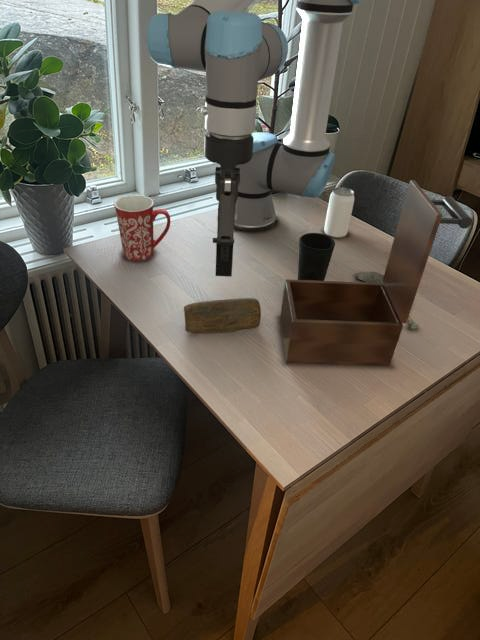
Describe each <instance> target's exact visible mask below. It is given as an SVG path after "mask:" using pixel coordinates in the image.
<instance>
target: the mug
mask: <svg viewBox="0 0 480 640" xmlns="http://www.w3.org/2000/svg"><path fill="white" fill-rule="evenodd" d="M154 203H155V202H154V199H152V198H151V197H149V196H147V195H142V194H129V195H124V196H121V197H119V198H117V199H116V200H115V201H114V202H113V208H114V209H115V213H116V219H117V220H116V221H117V226H118V231H119V235H120V236H119V237H120V243H121V247H122V248H121V249H122V253H123V257H124V258H125V259H126V260H129V261H132V262H143V261H147V260H149V259H151V258H152V257H153V256H154V254H155V248H156V247H157V246H158V245H159V244H160V243H161V241H162V240H164V238H165V237H166V235H167V234H168V232H169V230H170V227H171V215H170V213H169V211H167V210H166V209H164V208H157V209H154V206H155V205H154ZM159 215H164V216H165V218H166V225H165V228H164V229H163V231H162V232H161V234H160V235H159V236H158V237H157V238H156V239H154V222H155V220H156V218H157V216H159Z"/></svg>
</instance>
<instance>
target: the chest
mask: <svg viewBox="0 0 480 640" xmlns="http://www.w3.org/2000/svg"><path fill="white" fill-rule="evenodd" d="M282 294H283V295H282V302H281V310H280V317H279V321H280V330H281V336H282V344H283V351H284V358H285V364H303V365H305V364H306V365H330V366H331V365H335V366H337V365H338V366H366V367H367V366H369V367H390V366H391V363H392V360H393V357H394V354H395V351H396V349H397V346H398V342H399V340H400V336H401V334H402V330H403V328H404V323H402V322H401V320H400V318H399V316H398V314H397V311H396V309H395V307H394V305H393V303H392V301H391V299H390V296H389V294H388V292H387V290H386V288H385V286H384V283H367V282H365V281H339V280H336V281H335V280H324V281H315V280H298V279H289V278H287V279H285V280H284V287H283V293H282Z"/></svg>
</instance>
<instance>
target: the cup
mask: <svg viewBox="0 0 480 640" xmlns="http://www.w3.org/2000/svg"><path fill="white" fill-rule="evenodd" d="M335 247H336V241H335V240H334V238H333V237H331V236H328V235H327V234H325V233H324V234H323V233H319V232H308V233H304V234H303V235H301V236H300V237H299V240H298V261H297V280H315V281H326V280H325V279H326V276H327V273H328V270H329V266H330V263H331V260H332V256H333V253H334V250H335Z"/></svg>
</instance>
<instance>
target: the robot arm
mask: <svg viewBox="0 0 480 640" xmlns="http://www.w3.org/2000/svg"><path fill="white" fill-rule="evenodd" d="M264 1H265V0H192V1H191V2H190V3H188V4H187V5H186V6H185V7H183V9H182V10H181V11H180V12H178V13H177V14H174V13H171V12H166V13H156V14H154V15H153V16H152V17H151V18H150V20H149V22H148V25H147V29H146V44H147V51H148V54H149V56H150V59H152V61H153V62H154V63H155V64H157V65H160V66H164V67H169V68H172V69H173V70H175V69H180V70H187V71H195V72H204V73H205V97H204V98H205V99H204V100H205V107H202V108H200V114H201V115H203V116H204V115H205V118H204V128H205V130H206V132H205V134H204V148H203V149H204V150H203V151H204V157H205V158H206V160H207V161H209V162H210V163H213V164H218V165H220V166H215V172H214V173H215V174H214V184H215V185H216V186H215V199H216V201H217V202H218V205H217V229H216V230H217V231H216V237H213V238H212V244H214V243H215V244H216V246H215V247H216V249H215V277H227V278H228V277H230V278H231V277H233V274H232V273H233V258H234V244H235V238H234V237H235V230H238V231H243V232H259V231H265V230H267V229H270V228H271V227H273V226H274V225H275V223H276V218H277V216H276V215H277V214H276V210H275V205H274V201H273V196H272V193H273V192H272V191H277V192H281V193H285V194H290V195H294V196H299V197H301V198H304V197H306V198H311V199H317V198H319V197H320V196H321V195H322V194H323V193H324V191H325V189H326V187H327V185H328V181H329V180H330V177H331V174H332V172H333V168H334V165H335V160H336V154H335V153H333V152H332V151H330V148H331V142H330V141H329V139H328V138H327V137H326V134H327V133H326V132H327V128H328V127H327V126H328V121H329V115H330V108H331V102H332V95H333V88H334V82H335V76H336V69H337V63H338V57H339V49H340V44H341V37H342V30H343V26H344V22H345V21H346V20H347V19H348V18H349V17H350V16H351V15H352V13H353V9H354V5H355V6H356V5H357V4H360V3H361V2H362V0H297V3H296V11H297V12H298V14H299V15H300V17H301V19H302V21H301V32H300V40H299V50H298V56H297V57H298V59H297V67H296V74H295V75H296V76H295V86H294V94H293V104H292V113H291V121H290V122H291V123H290V130H289V133H288V134H287V135H286V136H285V137H284V138H283V139H282V143H279V142H278V141H279V140H278V136H277V135H276V134H273V133H271V132H264V131H263V132H261V131H259V132H255V130H256V118H257V98H258V85H259V81H262V80H264V79H268V78H270V77H272V76H274V75H275V74H276V73H277V72H278V71H279V70H280V69H281V68H283V66H284V65H285V63H286V61H287V58H288V54H289V44H288V39H287V36H286V34H285V33H284V31H283V30H282V28H280V26H278V25H276V24H274V23H272V22H265V21H264V22H263V21H262V19H261V17H260V16H259V15H258V14H256V13H252V12H249V11H251V10H252V8H253V7H254V6H256V4H258V3H260V2H264Z"/></svg>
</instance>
